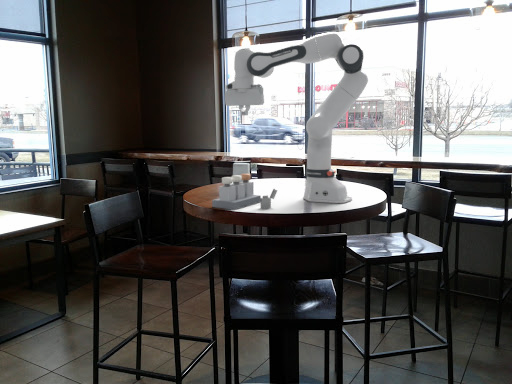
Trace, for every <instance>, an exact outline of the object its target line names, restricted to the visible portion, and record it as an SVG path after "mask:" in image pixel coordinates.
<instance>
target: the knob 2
mask: <svg viewBox="0 0 512 384" xmlns="http://www.w3.org/2000/svg"><path fill="white" fill-rule="evenodd" d="M241 176H242V180H243V183H248V180H249V181H250V180H251V179H252V177H251V173H250V174H241Z"/></svg>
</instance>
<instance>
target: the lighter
mask: <svg viewBox="0 0 512 384" xmlns="http://www.w3.org/2000/svg"><path fill="white" fill-rule="evenodd" d="M277 193H278V189H275V188H273V189H272V191H271V194H270V196H269V195H266V194H265V195H263V196H262V197H261V202H260V209H271V208H272V204H271V203H272V202H271V201H272V200H274V199H275V197H276V195H277Z"/></svg>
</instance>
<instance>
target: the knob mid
mask: <svg viewBox="0 0 512 384" xmlns="http://www.w3.org/2000/svg"><path fill="white" fill-rule="evenodd" d="M231 177H232V183H233V182H234V185H240V184H239V182H241V181H242V176H241V175H233V174H232V175H231Z"/></svg>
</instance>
